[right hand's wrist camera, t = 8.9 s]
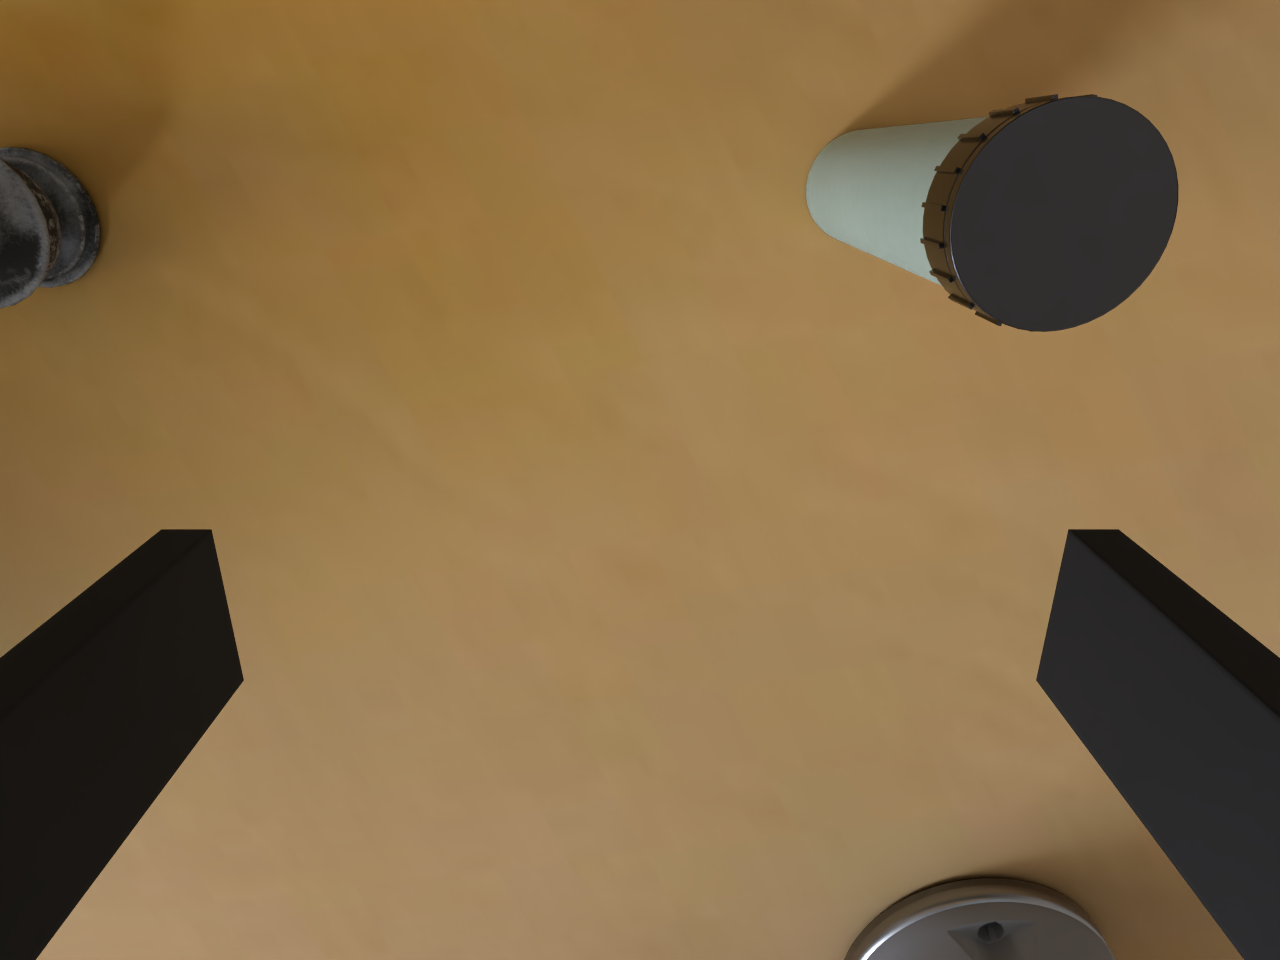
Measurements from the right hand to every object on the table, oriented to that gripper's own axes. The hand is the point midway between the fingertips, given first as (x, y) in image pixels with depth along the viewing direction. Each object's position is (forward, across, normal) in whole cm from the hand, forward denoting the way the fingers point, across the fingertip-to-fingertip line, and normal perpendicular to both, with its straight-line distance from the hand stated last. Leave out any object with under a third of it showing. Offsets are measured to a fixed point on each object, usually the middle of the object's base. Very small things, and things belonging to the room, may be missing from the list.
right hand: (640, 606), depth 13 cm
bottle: (+23, +9, +5) cm, 25 cm away
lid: (+7, +8, +5) cm, 12 cm away
